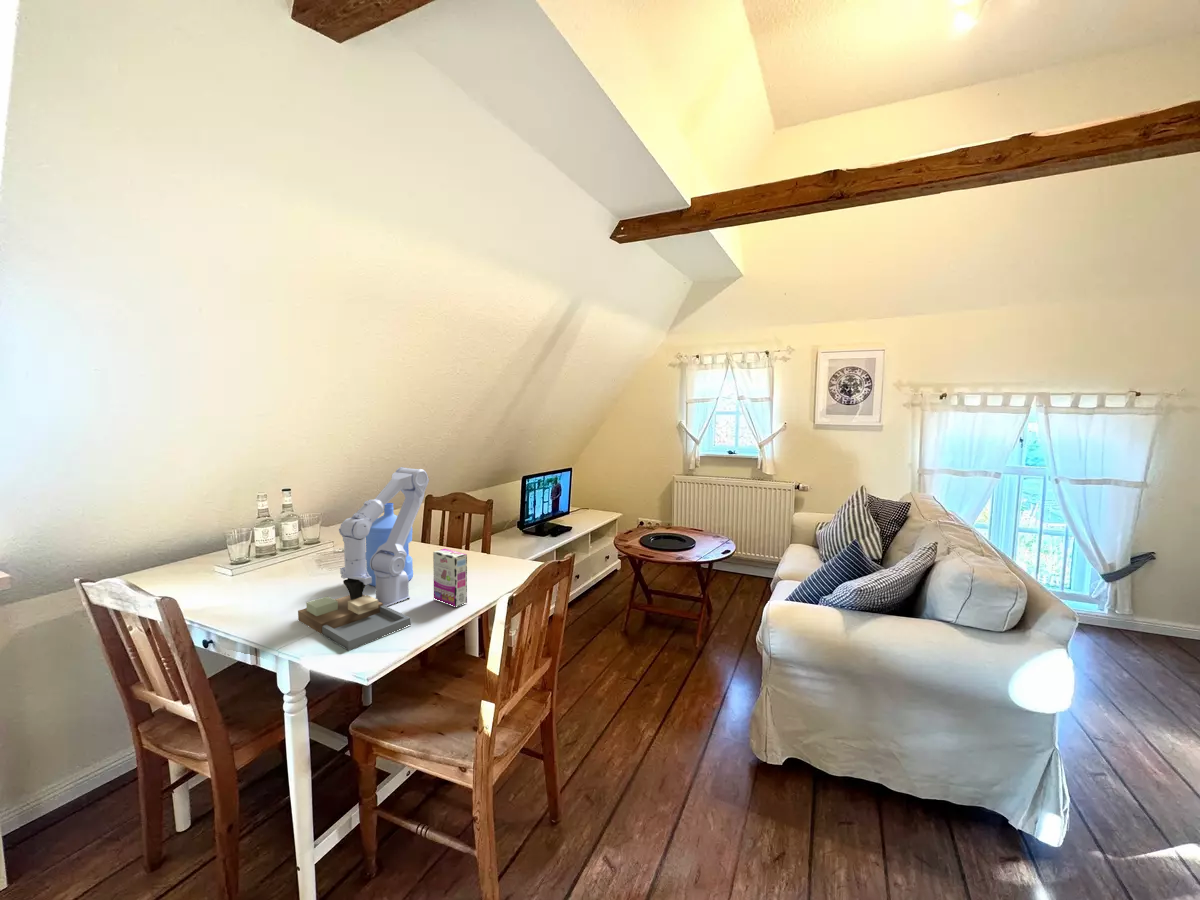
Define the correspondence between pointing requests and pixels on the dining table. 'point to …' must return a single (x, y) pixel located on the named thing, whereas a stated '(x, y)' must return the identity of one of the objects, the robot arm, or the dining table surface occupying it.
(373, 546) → the water jug
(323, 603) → the sage tile
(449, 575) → the candy bar box
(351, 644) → the tray
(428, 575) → the dining table surface
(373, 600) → the ash block
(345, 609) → the walnut board
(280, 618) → the dining table surface
